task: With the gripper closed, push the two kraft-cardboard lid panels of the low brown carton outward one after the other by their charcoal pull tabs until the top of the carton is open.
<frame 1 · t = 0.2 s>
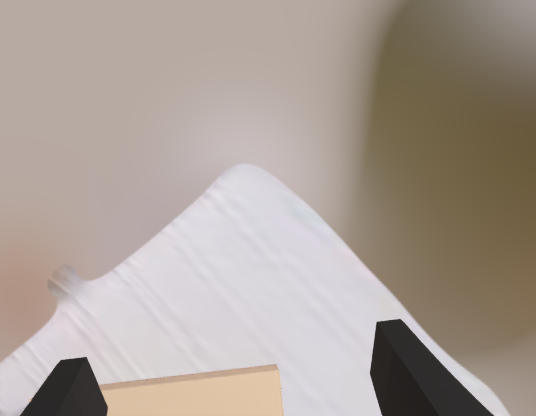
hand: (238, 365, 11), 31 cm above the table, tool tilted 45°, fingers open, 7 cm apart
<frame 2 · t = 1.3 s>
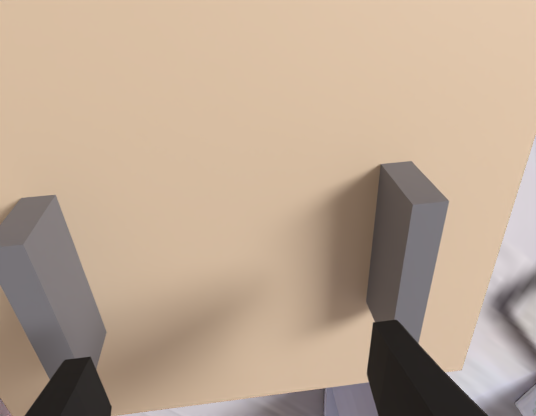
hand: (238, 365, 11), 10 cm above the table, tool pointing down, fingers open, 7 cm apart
lid panel 1: (76, 290, 13), point 7 cm above the table, slide at 0.0 cm
lid panel 2: (381, 257, 14), point 7 cm above the table, slide at 0.0 cm
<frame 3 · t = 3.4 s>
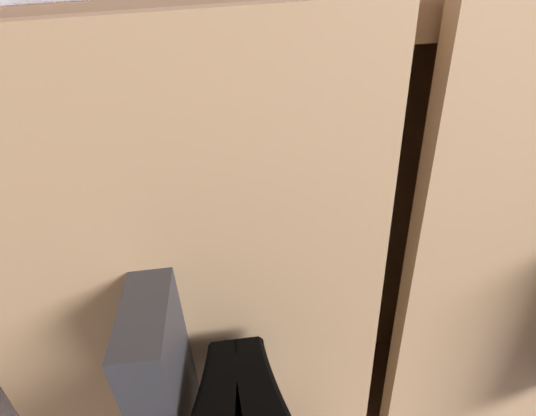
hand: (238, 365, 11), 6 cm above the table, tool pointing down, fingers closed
lid panel 1: (190, 386, 10), point 7 cm above the table, slide at 0.8 cm, touching gripper
carton: (345, 213, 16), on the table
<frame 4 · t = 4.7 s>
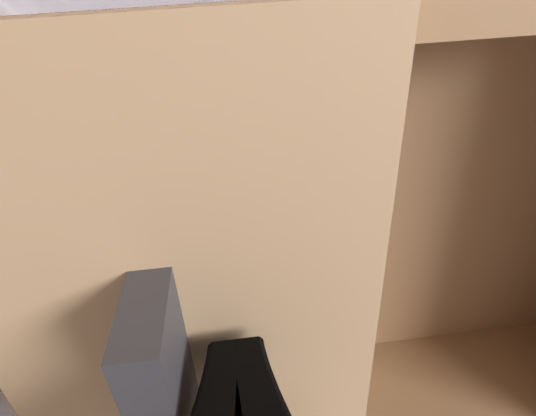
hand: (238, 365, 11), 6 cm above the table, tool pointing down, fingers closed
lid panel 1: (189, 386, 10), point 7 cm above the table, slide at 8.2 cm, touching gripper
carton: (524, 194, 17), on the table
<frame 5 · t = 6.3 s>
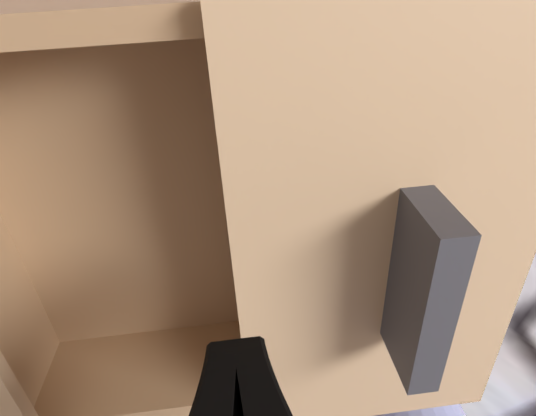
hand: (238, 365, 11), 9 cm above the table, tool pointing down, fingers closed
carton: (229, 193, 18), on the table
lid panel 2: (400, 289, 13), point 7 cm above the table, slide at 0.0 cm
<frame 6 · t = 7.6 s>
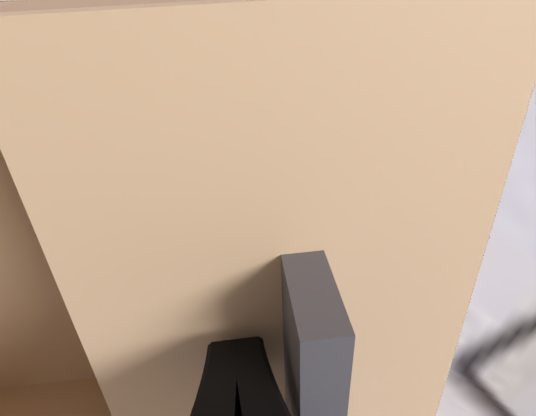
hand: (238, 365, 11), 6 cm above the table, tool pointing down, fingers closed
carton: (110, 235, 16), on the table
lid panel 2: (289, 374, 10), point 7 cm above the table, slide at 0.7 cm, touching gripper
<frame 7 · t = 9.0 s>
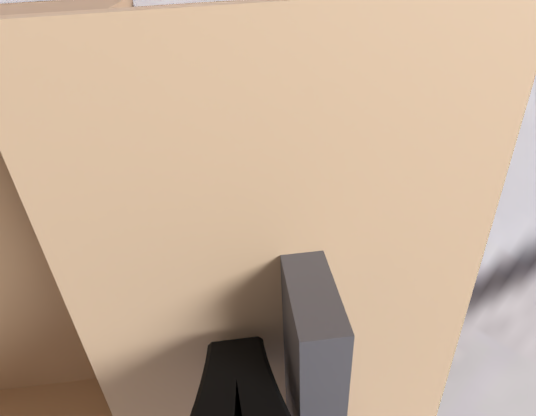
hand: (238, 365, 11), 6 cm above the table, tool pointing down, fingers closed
lid panel 2: (289, 374, 10), point 7 cm above the table, slide at 8.2 cm, touching gripper
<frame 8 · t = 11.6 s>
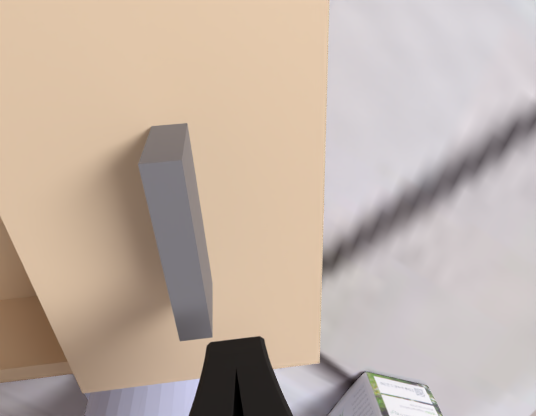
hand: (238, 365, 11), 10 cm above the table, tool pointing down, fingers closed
white printed box: (375, 397, 30), on the table
lid panel 2: (167, 232, 12), point 7 cm above the table, slide at 8.2 cm
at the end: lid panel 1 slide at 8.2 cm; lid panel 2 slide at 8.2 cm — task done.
